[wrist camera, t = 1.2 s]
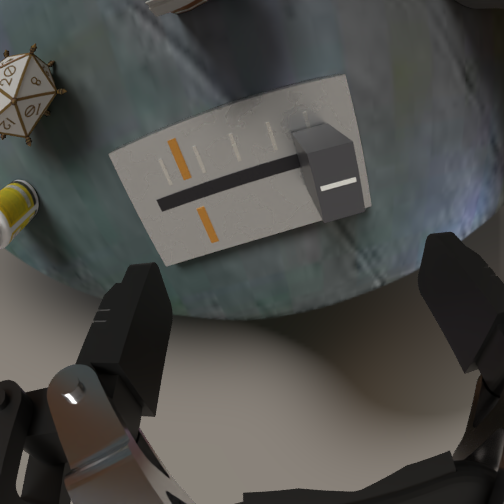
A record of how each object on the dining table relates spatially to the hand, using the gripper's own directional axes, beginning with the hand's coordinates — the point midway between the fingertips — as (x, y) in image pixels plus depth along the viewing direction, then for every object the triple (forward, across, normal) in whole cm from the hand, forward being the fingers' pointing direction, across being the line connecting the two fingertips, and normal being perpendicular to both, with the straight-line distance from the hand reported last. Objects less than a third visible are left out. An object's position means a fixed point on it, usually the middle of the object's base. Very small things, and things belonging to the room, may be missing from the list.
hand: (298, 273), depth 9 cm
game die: (+20, +19, -8) cm, 29 cm away
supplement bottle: (+20, +25, +2) cm, 32 cm away
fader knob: (+17, -4, +2) cm, 18 cm away
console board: (+20, +2, +3) cm, 20 cm away
